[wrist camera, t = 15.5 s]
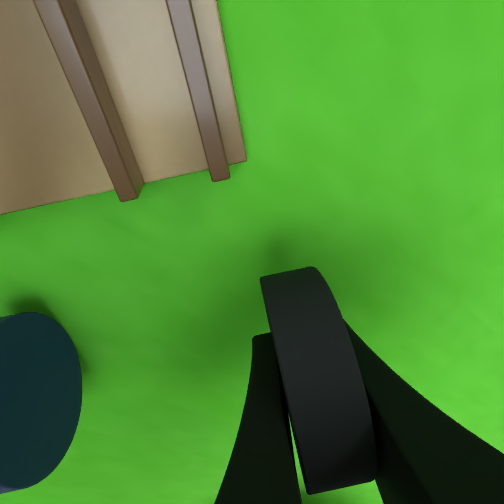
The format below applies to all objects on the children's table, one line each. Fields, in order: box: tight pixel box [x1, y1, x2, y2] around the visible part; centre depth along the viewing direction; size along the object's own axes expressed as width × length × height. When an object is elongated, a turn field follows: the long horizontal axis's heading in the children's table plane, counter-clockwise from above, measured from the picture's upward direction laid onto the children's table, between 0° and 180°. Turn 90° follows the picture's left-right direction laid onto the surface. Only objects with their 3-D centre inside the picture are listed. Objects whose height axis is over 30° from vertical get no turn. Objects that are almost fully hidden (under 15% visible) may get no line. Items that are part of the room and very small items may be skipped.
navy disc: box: [0, 312, 82, 494], centre depth 13 cm, size 2×6×6 cm, turn 11°
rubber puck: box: [260, 266, 377, 495], centre depth 11 cm, size 2×6×6 cm, turn 11°
